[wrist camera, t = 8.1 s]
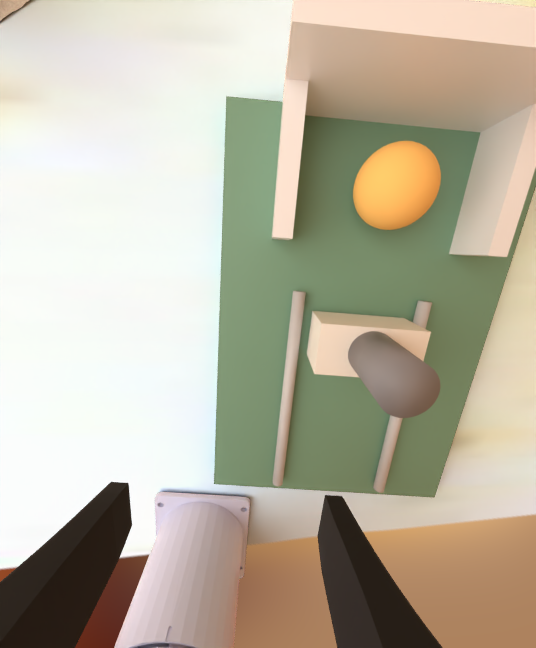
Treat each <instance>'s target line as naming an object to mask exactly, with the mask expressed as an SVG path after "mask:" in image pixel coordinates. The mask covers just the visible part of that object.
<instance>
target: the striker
mask: <svg viewBox="0 0 536 648" xmlns="http://www.w3.org/2000/svg"><path fill="white" fill-rule="evenodd" d="M430 334H431V332H430V331H428V330H426V329H424V328H422V327H420V326H418V325H416V324H414V323H413V322H411V321H409V320H407V319H405V318H398V317H385V316H372V315H360V314H347V313H334V312H321V311H312V317H311V325H310V333H309V340H308V348H307V356H308V359H309V361H310V364H311V366H312V369H313V372H314V374H320V375H334V376H348V377H359V378H360V379H361V380H362V382H363V383H364V385H365V386H366V387H367V389H368V390H369V391H370V393H371V394H372V396H373V397H374V398H375V400H376V401H377V403H378V404H379V405H380V407H381V408H382V409H383V410H384V411H385V412H386V413H387V414H389V415H391V416H394V417H397V418H410V417H414V416H418V415H420V414H422V413H424V412H425V411H427V410H428V409H429V408H430V407H431V406H432V405H433V404H434V403H435V401H436V400H437V398H438V395H439V393H440V379H439V376H438V374H437V373H436V371H435V370H434V369H433V368H431V367H430V366H429V365H427V364H426V363H425V362H423V361H424V357H425V353H426V349H427V345H428V342H429V338H430Z"/></svg>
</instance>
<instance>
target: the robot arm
mask: <svg viewBox="0 0 536 648" xmlns="http://www.w3.org/2000/svg"><path fill="white" fill-rule="evenodd" d="M243 507H245V508H243ZM249 510H250V499H249V498H247V497H241V496H224V495H207V494H190V493H174V492H159V493H157V494H156V497H155V517H156V540H155V542H154V545H153V547H152V550H151V553H150V555H149V558H148V561H147V563H146V566H145V569H144V571H143V574H142V576H141V579H140V582H139V584H138V587H137V589H136V592H135V595H134V597H133V600H132V602H131V605H130V608H129V610H128V613H127V616H126V618H125V621H124V623H123V627H122V629H121V631H120V634H119V636H118V639H117V642H116V645H115V647H114V648H234V636H235V624H236V612H237V600H238V588H239V579H241V578H243V577H244V572H245V560H246V548H247V535H248V523H249ZM131 526H132V521H131V509H130V497H129V485H128V483H118V482H111V483H110V484H108V485H107V486H106V487H105V488H104V489H103V490H102V491H101V492H100V493H99V494H98V495H97V496H96V497H95V498H94V499H93V500H92V501H90V502H89V503H88V504H87V505H86V506H85V507H84V508H83V509H82V510H81V511H80V512H79V513H78V514H77V515H76V516H75V517H73V518H72V519H71V520H70V521H69V522H68V523H67V524H66V525H65V526H64V527H63V528H62V529H60V530H59V531H58V532H57V533H56V534H55V535H54V536H53V537H52V538H51V539H49V540H48V541H47V542H46V543H45V544H44V545H43V546H42V547H41V548H39V549H38V550H37V551H36V552H35V553H34V554H33V555H31V556H30V557H29V558H28V559H27V560H26V561H24V562H23V563H22V564H21V565H20V566H19V567H17V568H16V569H15V570H14V571H13V572H12V573H11V574H9V575H8V576H7V577H6V578H4V579H3V580H2V581H1V582H0V648H75V646H76V644H77V642H78V640H79V638H80V636H81V634H82V632H83V630H84V628H85V626H86V624H87V622H88V620H89V618H90V616H91V614H92V612H93V610H94V608H95V606H96V604H97V602H98V600H99V598H100V596H101V594H102V592H103V590H104V588H105V586H106V584H107V582H108V580H109V578H110V576H111V574H112V572H113V570H114V568H115V566H116V564H117V562H118V559H119V557H120V555H121V552H122V550H123V547H124V545H125V542H126V540H127V537H128V534H129V532H130V529H131ZM318 543H319V552H320V560H321V567H322V568H321V569H322V575H323V579H324V584H325V590H326V595H327V600H328V604H329V609H330V614H331V619H332V624H333V628H334V633H335V637H336V643H337V648H442V646H441V645H440V644H439V643H438V641H437V640H436V639H435V637H434V636H433V635H432V633H431V632H430V631H429V629H428V628H427V627H426V625H425V624H424V623H423V621H422V620H421V619H420V617H419V616H418V615H417V614H416V612H415V610H414V609H413V608H412V606H411V605H410V603H409V602H408V601H407V599H406V598H405V596H404V595H403V593H402V592H401V590H400V589H399V588H398V586H397V585H396V583H395V582H394V580H393V579H392V577H391V576H390V574H389V573H388V571H387V570H386V568H385V567H384V565H383V564H382V562H381V560H380V559H379V557H378V556H377V554H376V553H375V552H374V549H373V548H372V546H371V545H370V543H369V541H368V540H367V538H366V537H365V535H364V533H363V532H362V530H361V528H360V526H359V525H358V523H357V521H356V520H355V518H354V516H353V514H352V513H351V511H350V509H349V507H348V506H347V504H346V502H345V500H344V499H343V497H342V496H330V495H325V499H324V504H323V510H322V515H321V521H320V526H319V532H318Z"/></svg>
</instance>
